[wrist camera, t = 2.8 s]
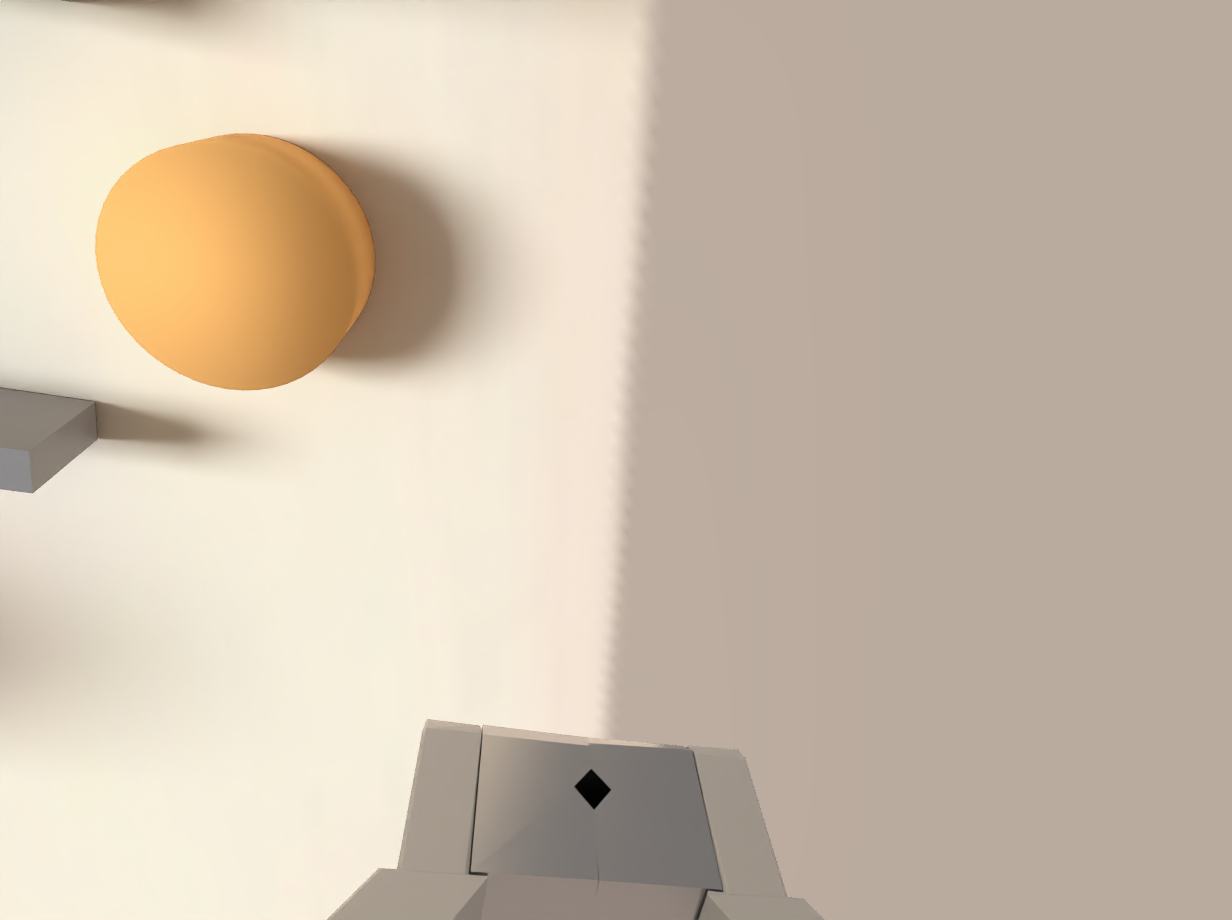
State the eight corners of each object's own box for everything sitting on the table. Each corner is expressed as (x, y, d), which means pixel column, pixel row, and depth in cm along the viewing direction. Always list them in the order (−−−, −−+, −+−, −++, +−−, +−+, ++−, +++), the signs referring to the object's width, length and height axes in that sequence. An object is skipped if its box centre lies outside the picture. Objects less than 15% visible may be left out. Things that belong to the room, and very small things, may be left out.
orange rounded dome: (145, 111, 22) (88, 118, 19) (385, 157, 23) (363, 171, 20) (151, 335, 24) (101, 370, 21) (367, 369, 25) (346, 406, 22)
